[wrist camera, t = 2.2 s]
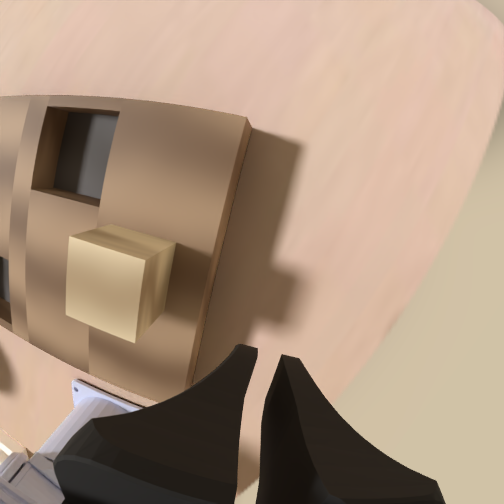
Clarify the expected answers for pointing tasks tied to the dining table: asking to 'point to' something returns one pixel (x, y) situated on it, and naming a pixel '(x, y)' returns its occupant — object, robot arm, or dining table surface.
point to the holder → (9, 446)
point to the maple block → (118, 279)
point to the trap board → (114, 222)
